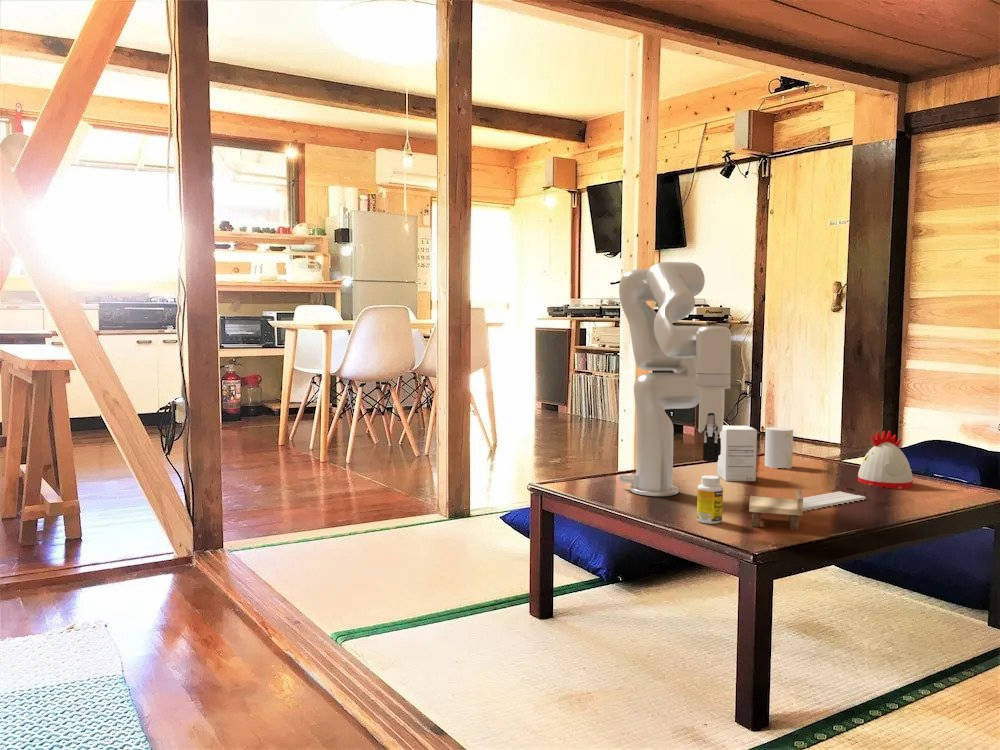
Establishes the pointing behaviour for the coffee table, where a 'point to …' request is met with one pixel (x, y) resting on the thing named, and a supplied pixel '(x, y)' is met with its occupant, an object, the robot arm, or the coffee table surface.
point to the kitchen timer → (886, 464)
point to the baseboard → (830, 499)
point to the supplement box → (737, 453)
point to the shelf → (777, 508)
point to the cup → (778, 447)
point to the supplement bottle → (710, 500)
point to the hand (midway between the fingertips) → (712, 457)
